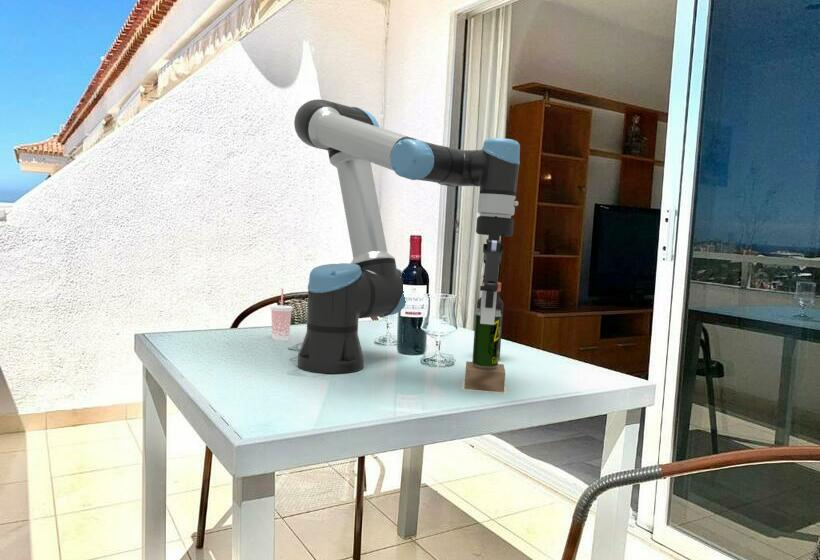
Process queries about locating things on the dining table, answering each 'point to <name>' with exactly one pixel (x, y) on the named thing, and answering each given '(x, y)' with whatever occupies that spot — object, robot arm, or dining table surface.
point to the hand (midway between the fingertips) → (486, 318)
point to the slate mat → (481, 390)
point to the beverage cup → (281, 320)
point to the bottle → (498, 306)
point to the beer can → (486, 342)
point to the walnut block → (484, 378)
